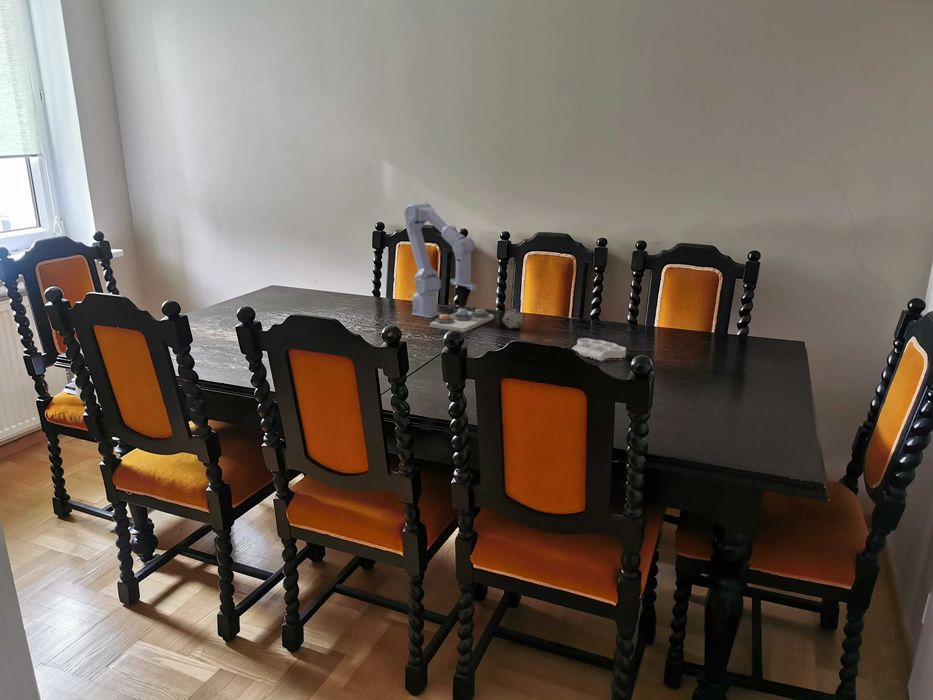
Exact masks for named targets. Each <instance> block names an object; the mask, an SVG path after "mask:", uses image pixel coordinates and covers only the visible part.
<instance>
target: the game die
mask: <svg viewBox="0 0 933 700" xmlns="http://www.w3.org/2000/svg"><path fill="white" fill-rule="evenodd" d="M504 310H505V312H504V314H503V317H502V319H501V320H499V322H502V323H503V324H504V325H505V326H506V327H507V328H508V331H510V330H511V329H517V328H518V329H519V330H521V323H522V322H523V319H524V318H526V315H524V316H523V314H521V312H520V311H519V310H518V307H517V306H516V307H515V308H512V309H507V308H504Z"/></svg>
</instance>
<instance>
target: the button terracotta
mask: <svg viewBox="0 0 933 700" xmlns="http://www.w3.org/2000/svg"><path fill="white" fill-rule="evenodd" d="M450 315H451V314H449V313H443V314H442V313H441V314H440V315H438V317H439V320H450Z"/></svg>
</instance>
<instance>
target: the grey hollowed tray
mask: <svg viewBox="0 0 933 700" xmlns="http://www.w3.org/2000/svg"><path fill="white" fill-rule="evenodd" d="M576 342H577V343H576V344H575V345H573V346H572V348H571V349H573V350H575V351H577V352H578V353H579V354H580V355H579V356H581V355H582V357H584V358H587V357H590V358H589V359H592V358H593V359H592V360H595V359H596V361H600V362H604V361H603V360H605V359H607V358H623V357H625V356H626V355H627V348H626V347H625V346H620V345H618V344H617V343H614V342H609V341H605V340H602V339H593V338H592V339H591V338H588V337H587V338H586V337H584V338H578V339H577V341H576ZM625 358H626V357H625ZM607 360H608V359H607ZM605 361H606V360H605Z"/></svg>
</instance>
